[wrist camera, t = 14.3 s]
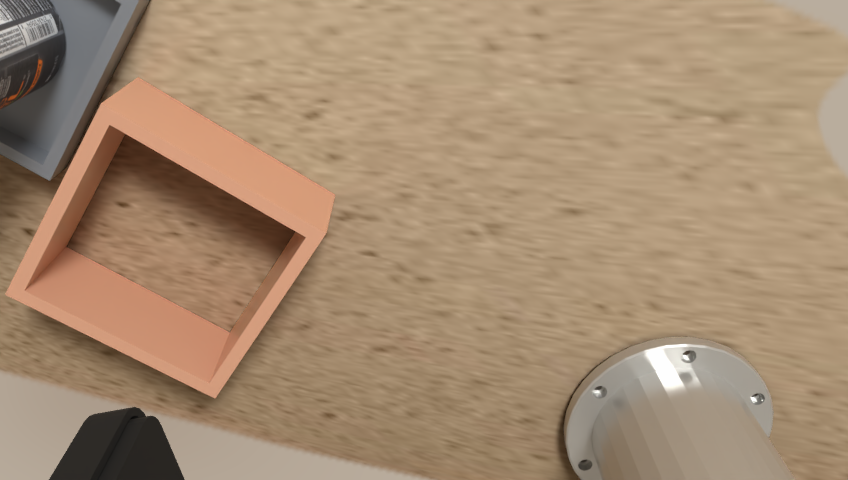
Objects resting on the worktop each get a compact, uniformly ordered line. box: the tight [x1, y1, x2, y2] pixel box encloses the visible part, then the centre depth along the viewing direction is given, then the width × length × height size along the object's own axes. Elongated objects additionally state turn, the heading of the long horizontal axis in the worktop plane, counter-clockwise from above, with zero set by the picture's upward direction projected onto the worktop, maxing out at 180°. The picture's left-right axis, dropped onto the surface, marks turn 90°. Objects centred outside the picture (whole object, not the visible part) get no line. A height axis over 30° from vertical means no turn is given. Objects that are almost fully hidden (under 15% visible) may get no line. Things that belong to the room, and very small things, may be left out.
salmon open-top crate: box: [5, 78, 335, 398], centre depth 39 cm, size 11×11×5 cm
